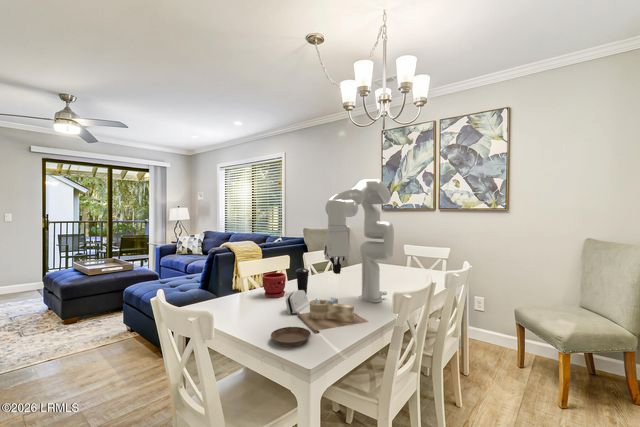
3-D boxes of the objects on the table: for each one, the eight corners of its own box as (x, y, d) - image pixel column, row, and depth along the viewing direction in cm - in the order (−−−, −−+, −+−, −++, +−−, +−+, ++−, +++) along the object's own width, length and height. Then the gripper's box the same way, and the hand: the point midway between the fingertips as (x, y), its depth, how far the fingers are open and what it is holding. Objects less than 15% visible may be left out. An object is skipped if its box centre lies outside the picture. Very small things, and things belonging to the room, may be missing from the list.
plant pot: (273, 291, 184) (273, 271, 184) (290, 295, 176) (290, 274, 176) (257, 296, 173) (257, 275, 173) (274, 300, 166) (274, 278, 166)
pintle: (319, 316, 141) (319, 298, 141) (321, 317, 139) (321, 299, 139) (314, 316, 140) (314, 299, 140) (316, 318, 138) (316, 300, 138)
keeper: (335, 316, 141) (335, 297, 141) (340, 319, 137) (340, 300, 137) (325, 317, 139) (325, 299, 139) (329, 321, 135) (329, 301, 135)
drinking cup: (299, 296, 173) (299, 260, 173) (293, 293, 180) (293, 258, 180) (311, 294, 177) (311, 259, 177) (305, 291, 184) (305, 258, 183)
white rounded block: (298, 315, 142) (291, 294, 143) (289, 317, 143) (283, 296, 145) (312, 305, 157) (306, 286, 159) (304, 307, 159) (298, 288, 160)
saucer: (263, 339, 116) (263, 332, 116) (296, 330, 125) (296, 323, 125) (284, 353, 105) (284, 345, 105) (318, 342, 114) (318, 335, 114)
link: (306, 317, 137) (306, 303, 137) (315, 311, 145) (315, 298, 145) (349, 324, 128) (349, 310, 128) (356, 317, 136) (356, 304, 136)
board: (345, 309, 151) (345, 307, 151) (368, 324, 131) (368, 321, 131) (297, 316, 141) (297, 314, 141) (315, 333, 122) (315, 330, 122)
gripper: (348, 228, 135) (348, 270, 135) (316, 229, 129) (316, 273, 129) (357, 229, 128) (356, 273, 129) (324, 230, 122) (324, 276, 123)
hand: (336, 273), depth 129 cm, fingers closed
